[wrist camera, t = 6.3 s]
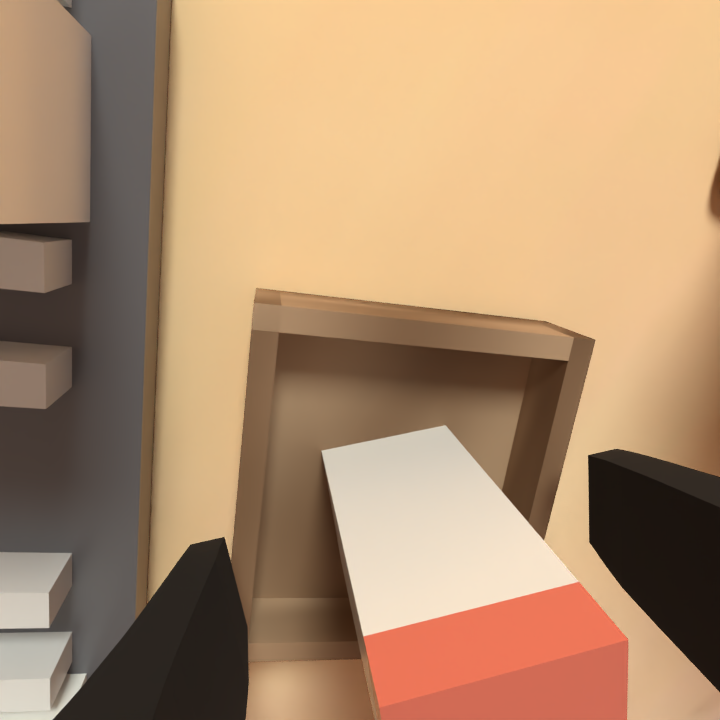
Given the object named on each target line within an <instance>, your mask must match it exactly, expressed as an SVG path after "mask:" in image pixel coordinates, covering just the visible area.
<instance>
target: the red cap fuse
mask: <svg viewBox="0 0 720 720" xmlns="http://www.w3.org/2000/svg"><path fill="white" fill-rule="evenodd" d="M322 457H323V462H324V468H325V474H326V479H327V485H328V490H329V496H330V502H331V507H332V513H333V518H334V524H335V530H336V535H337V541H338V547H339V552H340V558H341V563H342V568H343V572H344V577H345V582H346V587H347V591H348V596H349V601H350V606H351V610H352V615H353V620H354V625H355V629H356V634H357V639H358V644H359V648H360V653H361V658H362V663H363V667H364V672H365V677H366V682H367V686H368V691H369V696H370V701H371V705H372V710H373V715H374V720H627V684H628V639H627V638H626V636H625V635H624V634H623V633H622V632H621V631H620V629H619V628H618V627H617V626H616V625H615V624H614V622H613V621H612V620H611V619H610V618H609V617H608V615H607V614H606V613H605V612H604V611H603V610H602V608H601V607H600V606H599V605H598V604H597V602H596V601H595V600H594V599H593V598H592V597H591V595H590V594H589V593H588V592H587V591H586V590H585V588H584V587H583V586H582V585H581V584H580V583H579V581H578V580H577V579H576V578H575V577H574V575H573V574H572V573H571V572H570V571H569V570H568V568H567V567H566V566H565V565H564V564H563V563H562V561H561V560H560V559H559V558H558V557H557V556H556V554H555V553H554V552H553V551H552V550H551V548H550V547H549V546H548V545H547V544H546V543H545V541H544V540H543V539H542V538H541V537H540V536H539V534H538V533H537V532H536V531H535V530H534V529H533V527H532V526H531V525H530V524H529V523H528V521H527V520H526V519H525V518H524V517H523V516H522V514H521V513H520V512H519V511H518V510H517V509H516V507H515V506H514V505H513V504H512V503H511V502H510V500H509V499H508V498H507V497H506V496H505V495H504V493H503V492H502V491H501V490H500V489H499V487H498V486H497V485H496V484H495V483H494V482H493V480H492V479H491V478H490V477H489V476H488V475H487V473H486V472H485V471H484V470H483V469H482V468H481V466H480V465H479V464H478V463H477V462H476V460H475V459H474V458H473V457H472V456H471V455H470V453H469V452H468V451H467V450H466V449H465V448H464V446H463V445H462V444H461V443H460V442H459V441H458V439H457V438H456V437H455V436H454V435H453V433H452V432H451V431H450V430H449V429H448V428H447V426H446V425H444V426H440V427H435V428H430V429H425V430H420V431H415V432H410V433H405V434H400V435H396V436H391V437H386V438H381V439H376V440H371V441H366V442H361V443H357V444H352V445H347V446H342V447H337V448H332V449H327V450H322Z"/></svg>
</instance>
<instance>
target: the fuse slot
mask: <svg viewBox="0 0 720 720" xmlns="http://www.w3.org/2000/svg"><path fill="white" fill-rule="evenodd" d="M86 680H87V673H86V674H66V676H65V679H64V681H63V683H62V685H61V688H60V690H59V692H58V694H57V697H56V699H55V701H54V703H53V706H52V708H51V710H47V711H25V712H2V713H0V720H53V719H54V718H55V716H56V715H57V714H58V713H59V712H60V711H61V710H62V709H63V708H64V706H65V705H66V704H67V703H68V702H69V701H70V700H71V699H72V698H73V696H74V695H75V694H76V693H77V692H78V691H79V690H80V688H81V687H82V686H83V685H84V684H85V682H86Z"/></svg>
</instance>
